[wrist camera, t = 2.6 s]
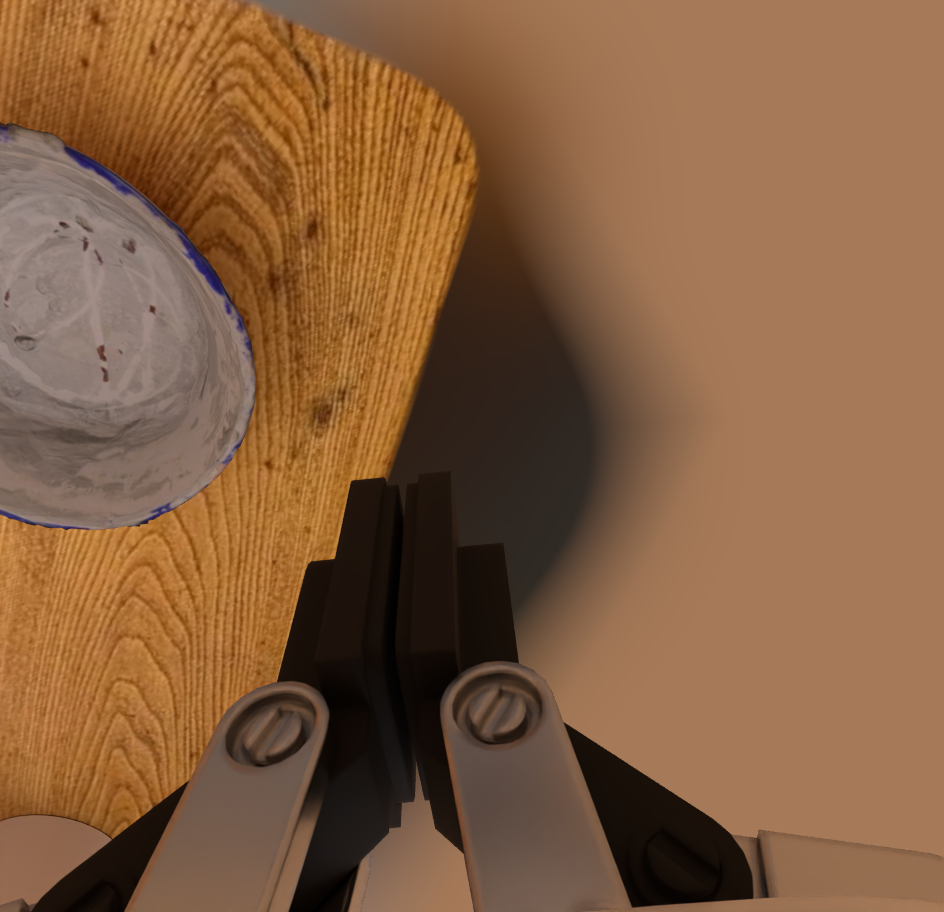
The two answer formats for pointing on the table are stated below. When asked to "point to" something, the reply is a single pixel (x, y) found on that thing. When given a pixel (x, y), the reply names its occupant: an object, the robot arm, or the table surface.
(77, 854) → the pink tall cylinder
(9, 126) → the bowl
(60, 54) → the table surface
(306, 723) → the robot arm
